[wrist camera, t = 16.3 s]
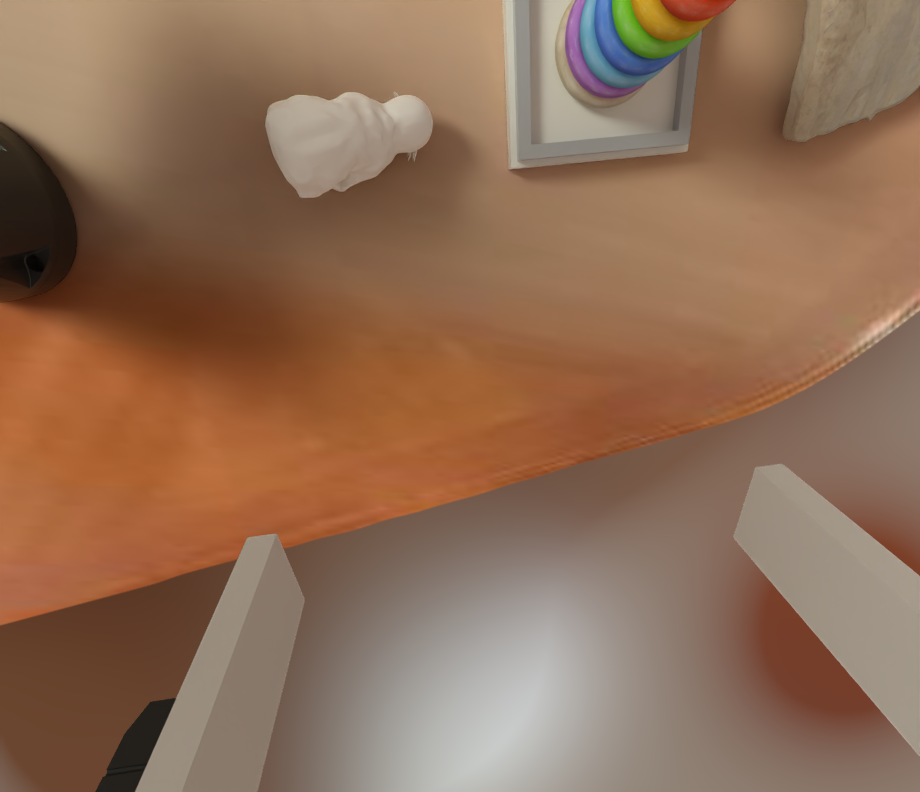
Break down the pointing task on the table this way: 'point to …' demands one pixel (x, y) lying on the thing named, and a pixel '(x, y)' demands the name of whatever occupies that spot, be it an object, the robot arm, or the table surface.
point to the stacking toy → (624, 44)
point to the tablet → (852, 63)
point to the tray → (574, 124)
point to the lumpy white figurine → (343, 138)
